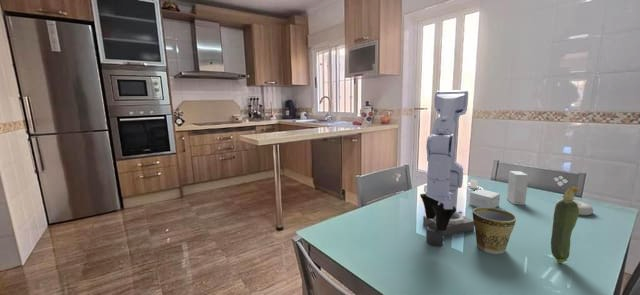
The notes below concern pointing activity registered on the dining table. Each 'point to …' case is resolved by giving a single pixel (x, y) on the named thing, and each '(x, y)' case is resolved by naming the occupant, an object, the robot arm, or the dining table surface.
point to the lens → (434, 235)
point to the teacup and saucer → (473, 184)
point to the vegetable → (564, 225)
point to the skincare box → (517, 187)
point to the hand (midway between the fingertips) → (435, 223)
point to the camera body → (454, 224)
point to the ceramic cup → (493, 228)
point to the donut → (583, 208)
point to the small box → (484, 198)
